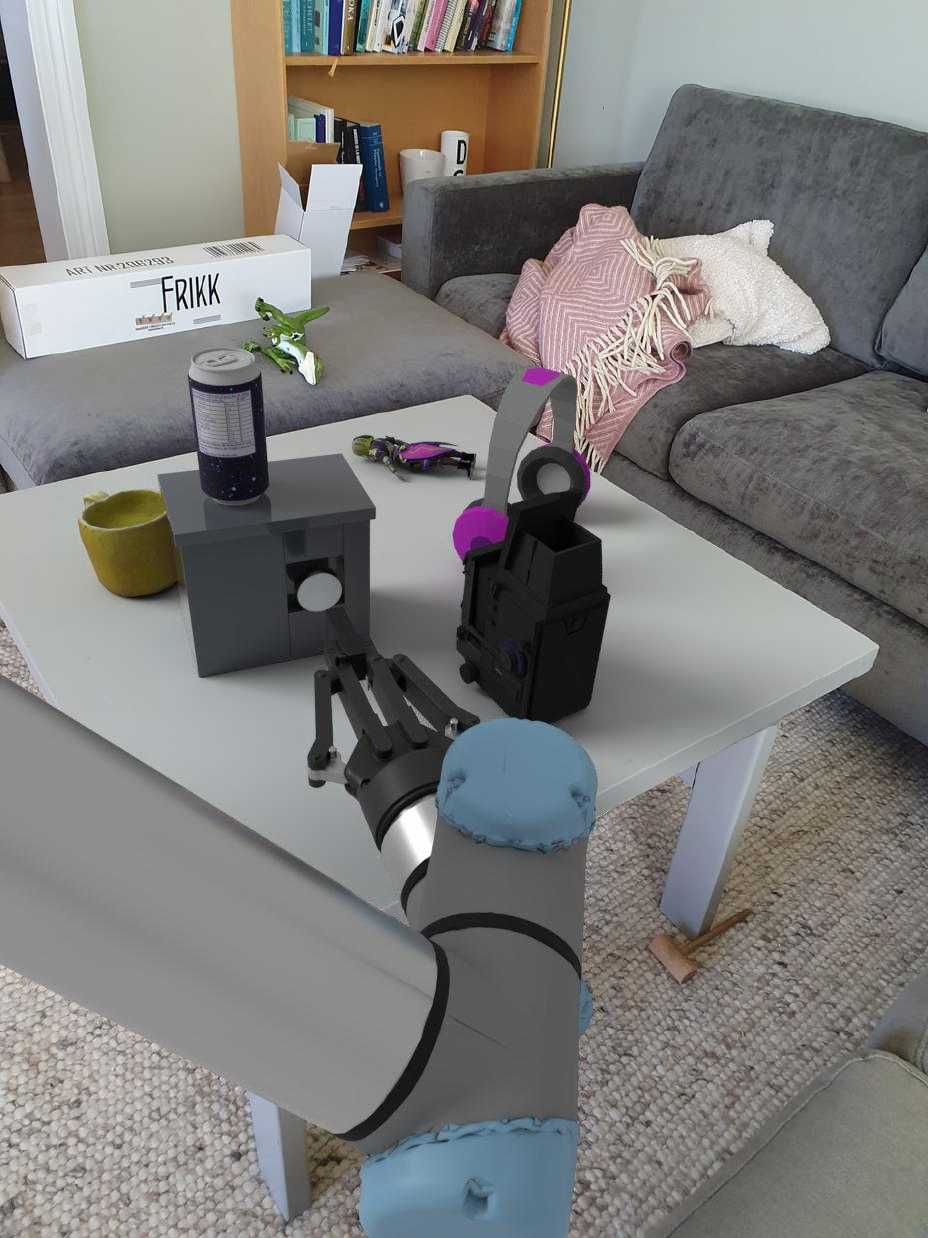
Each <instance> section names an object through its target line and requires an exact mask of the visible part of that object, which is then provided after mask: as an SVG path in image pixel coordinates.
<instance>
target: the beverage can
mask: <svg viewBox="0 0 928 1238" xmlns="http://www.w3.org/2000/svg"><path fill="white" fill-rule="evenodd" d="M190 363H191V365H190V368H189V370H188V372H187V381H188V389H189V390H188V392H189V398H190V399H189V400H190V406H191V415H192V423H193V431H194V438H195V447H196V454H197V455H196V456H197V457H196V458H197V465H198V470H199V474H200V482H201V488H202V490H203V492H204V493H205V494H207V495H208V496H210V497H212V499H213V500H214V501H216V502H218V503H220V504H223V505H230V506H239V505H245V504H249V503H252V502H254V501H256V500H257V499H258V498H259V497H260V496H261V494H262V493H264V492H265V491H266V490H267V488H268V487H269V473H268V462H269V460H268V446H267V445H268V444H267V431H266V420H265V419H266V418H265V404H264V392H263V391H264V389H263V378H262V371H261V369H260V367H259V366H258V364H257V363H256V356H255V354H253V353H252V352H250V351H248V350H246V349H243V348H237V347H228V346H227V347H226V346H225V347H220V346H219V347H211V348H205V349H202V350H200V351H197V352H196V353H194V354H193V355H191V358H190Z"/></svg>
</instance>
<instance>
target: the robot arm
mask: <svg viewBox="0 0 928 1238" xmlns="http://www.w3.org/2000/svg"><path fill="white" fill-rule="evenodd" d="M325 622H326V637H327V639H328V641H326V642H325V643H324V654H323V658H324V660H323V661H324V663H325V665H326V667H327V669H328V670H327V669H323V668H321V669H318V670H316V671H315V672H314V674H313V686H314V687H313V690H314V722H315V723H314V724H315V738H314V740H313V743H312V745H311V747H310V748H309V751H308V753H307V756H306V761H307V763H306V764H307V780H308V781H307V783H308V785H309V786H310V787H311V788H314V789H320V788H322V787H324V786H325V785H326V783H327V782H330V783H333V784H334V783H335V784H339V785H340V784H341V785H343V786H344V790H345V791H346V793H347V794H348V795H350V796H351V797H353V798H354V799H355V800H356V802H357V803H358V804H359V806H360V809H361V812H362V814H363V817H364V819H365V821H366V823H367V826H368V829H369V831H370V834H371V836H372V839H373V841H374V843H375V845H376V848H377V850H378V851H379V852H380V855H381V856H380V857H381V860H382V862H383V864H384V868H385V869H386V873H387V874H388V877H389V879H390V882H391V885H392V887H393V890H394V892H395V894H396V895H395V896H396V897H397V900H398V902H399V904H400V907H401V909H402V910H403V912H404V915H405V917H406V920H407V922H408V925H407V924H406V923H404V922H403V921H401V920H399V919H398V918H396V917H395V916H393V915H391V914H390V913H389V912H387V911H385V910H383V909H382V908H380V907H379V906H376V905H375V904H373V903H372V902H371V901H369V900H368V899H365V898H364V897H363V896H360V895H359V894H357V893H356V892H354V891H353V890H351V889H349V888H348V887H346V886H345V885H343V884H341V883H340V882H339V881H336V880H335V879H333V878H332V877H330V876H329V875H326V874H325V873H323V872H322V871H320V870H319V869H317V868H315V867H314V866H312V865H311V864H309V863H307V862H306V861H304V860H302V859H301V858H299V857H298V856H296V855H295V854H293V853H292V852H289V851H288V850H286V849H285V848H284V847H282V846H280V845H278V844H277V843H276V842H273V841H272V840H270V839H268V838H267V837H265V835H264V836H263V835H262V834H261V833H259V832H257V831H255V830H254V829H253V828H251V827H249V826H248V825H246V824H244V823H243V822H241V821H239V820H238V819H236V818H235V817H233V816H231V815H230V814H228V813H226V812H224V810H222V809H220V808H219V807H217V806H216V805H213V804H212V803H210V802H209V801H208V800H205V799H204V798H202V797H201V796H199V795H198V794H196V793H194V792H193V791H191V790H189V789H188V788H187V787H185V786H183V785H182V784H180V783H178V782H176V781H175V780H173V779H172V778H170V777H168V776H167V775H165V774H164V773H162V772H160V771H159V770H157V769H156V768H154V767H153V766H151V765H149V764H147V763H146V762H144V761H142V760H141V759H139V758H137V757H136V756H134V755H133V754H131V753H130V752H128V751H126V750H125V749H123V748H121V747H120V746H119V745H116V743H113V742H112V741H110V740H109V739H107V738H105V737H104V736H103V735H101V734H99V733H97V732H95V731H94V730H93V729H91V728H89V727H88V726H86V725H84V724H83V723H81V722H79V721H78V720H77V719H74V717H71V716H70V715H68V714H67V713H65V712H63V711H62V710H60V709H58V708H57V707H56V706H54V705H52V704H51V703H49V702H47V701H45V699H42V698H41V697H39V696H37V695H36V694H34V693H33V692H31V691H29V690H28V689H26V688H24V687H23V686H21V685H20V684H18V683H17V682H15V681H13V680H12V679H11V678H8V677H7V676H5V675H4V674H2V673H0V966H3V967H5V968H6V969H8V970H10V971H12V972H14V973H16V974H18V975H20V976H22V977H24V978H26V979H27V980H30V981H31V982H34V983H36V984H38V985H40V986H42V987H43V988H45V989H47V990H48V991H49V990H50V991H51V992H53V993H55V994H57V995H59V996H61V997H63V998H65V999H67V1000H69V1001H71V1002H73V1003H74V1004H76V1005H79V1006H81V1007H83V1008H84V1009H86V1010H89V1011H91V1012H92V1013H95V1014H96V1015H99V1016H100V1017H102V1018H104V1019H106V1020H108V1021H111V1022H112V1023H114V1024H116V1025H118V1026H120V1027H123V1028H124V1029H126V1030H128V1031H130V1032H132V1033H134V1034H136V1035H138V1036H139V1037H141V1038H143V1039H146V1040H148V1041H150V1042H151V1043H154V1044H155V1045H158V1046H160V1047H161V1048H163V1049H165V1050H167V1051H169V1052H170V1053H173V1054H175V1055H176V1056H179V1057H181V1058H183V1059H184V1060H187V1061H188V1062H191V1063H192V1064H195V1065H197V1066H198V1067H200V1068H203V1069H205V1070H206V1071H209V1072H210V1073H212V1074H214V1075H217V1076H218V1077H220V1078H222V1079H224V1080H226V1081H228V1082H230V1083H231V1084H233V1085H235V1086H237V1087H240V1088H242V1089H243V1090H246V1091H247V1092H249V1093H251V1094H253V1095H256V1096H258V1097H259V1098H262V1099H263V1100H265V1101H267V1102H269V1103H271V1104H273V1105H275V1106H277V1107H279V1108H281V1109H283V1110H285V1111H287V1112H288V1113H290V1114H292V1115H295V1116H297V1117H299V1118H300V1119H303V1120H305V1121H306V1122H309V1123H311V1124H313V1125H314V1126H317V1127H318V1128H320V1129H322V1130H323V1131H325V1132H326V1133H328V1134H329V1135H331V1136H333V1137H335V1138H337V1139H340V1140H341V1141H343V1142H344V1143H346V1144H347V1145H349V1146H350V1147H352V1148H353V1149H355V1150H357V1151H359V1152H360V1153H361V1154H364V1156H365V1159H364V1161H363V1162H362V1164H361V1167H360V1170H359V1173H358V1177H359V1179H360V1181H361V1191H360V1196H359V1197H360V1198H359V1203H358V1216H359V1221H360V1225H361V1228H362V1229H363V1231H364V1233H365V1235H366V1237H367V1238H568V1236H569V1232H570V1225H571V1217H572V1216H571V1215H572V1208H573V1207H572V1205H573V1198H574V1197H573V1196H574V1187H575V1177H576V1169H577V1159H578V1147H579V1144H580V1141H581V1126H580V1124H579V1123H578V1114H579V1063H580V1062H579V1059H580V1039H581V1038H582V1037H583V1035H584V1034H585V1033H586V1032H587V1029H588V1028H589V1026H590V1023H591V1021H592V1018H593V1014H594V1002H593V998H592V995H591V993H590V991H589V989H588V986H587V984H586V982H585V980H584V978H583V975H582V973H583V951H584V950H583V947H584V922H585V897H586V895H585V894H586V893H585V892H586V868H587V867H586V864H587V853H588V845H589V839H590V834H591V832H593V831H594V829H595V827H596V822H597V821H596V820H597V819H596V811H597V809H596V798H597V792H598V786H599V785H598V784H599V783H598V782H599V781H598V775H597V770H596V768H595V767H596V766H595V764H594V762H593V760H592V758H591V756H590V754H589V753H588V752H587V750H586V749H585V748H584V747H583V745H582V744H581V743H580V742H578V741H577V740H576V739H575V738H574V737H573V736H571V735H570V734H568V733H567V732H565V731H564V730H562V729H560V728H558V727H557V726H555V725H553V724H551V723H550V724H547V723H544V722H540V721H530V720H527V719H522V720H520V719H517V718H510V717H500V718H494V719H493V718H492V719H489V720H486V721H483V722H481V719H480V717H479V716H477V715H475V714H474V713H472V712H469V711H468V710H466V709H464V708H462V707H460V706H458V705H457V704H456V702H454V701H453V700H452V699H451V698H450V697H449V696H448V695H447V694H446V693H445V692H444V691H443V690H442V689H441V688H440V687H439V686H438V685H437V684H436V683H435V682H434V681H433V680H432V679H430V678H429V676H428V675H427V674H426V673H424V671H423V670H421V668H419V667H418V665H417V664H416V663H415V662H413V661H412V660H411V658H409V656H407V655H406V654H404V653H397V654H394V655H393V656H392V658H387V657H384V656H383V655H382V654H380V653H379V651H378V649H377V647H376V646H375V644H374V641H373V640H372V638H371V635H370V636H368V635H367V634H362V635H357V634H356V632H355V630H354V628H353V626H352V624H351V622H350V620H349V618H348V616H347V614H346V612H345V610H344V608H343V606H341V607H335V608H329V609H325ZM366 680H367V691H368V692H369V691H371V693H372V695H373V698H374V699H375V702H376V703H377V705H378V707H379V710H380V712H381V714H382V716H383V718H384V720H385V722H386V725H383V723H382V721H381V718H380V717H379V715H378V713H377V712H376V713H375V711H374V709H373V707H372V705H371V703H370V702H369V698H368V697H367V695H366V692H365V691H364V688H363V686H362V684H361V682H360V681H366ZM336 694H337V696H338V699H339V701H340V703H341V705H342V708H343V710H344V712H345V715H346V717H347V719H348V721H349V724H350V726H351V728H352V730H353V732H354V735H355V737H356V739H357V743H355V746H354V748H353V751H352V752H351V755H350V757H349V758H348V761H347V762H346V763H345V762H343V761H342V754H341V752H339V751H338V748H337V747H336V746H334V723H333V704H332V703H333V702H332V696H334V695H336ZM406 700H407V701H408V703H410V704H411V705H409V704H408V703H407V701H406ZM413 708H414V709H415V710H416V711H417V712H418V713H419V714H420V715H421V716H422V717H423V718H424V719H425V720H426V722H428V723H429V724H430V725H431V726H432V727H433V728H431V727H429V726H427V725H425V724H422V723H421V722H420V720H419V717H418V716H417V714H416V712H415V710H414V709H413Z"/></svg>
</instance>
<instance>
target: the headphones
mask: <svg viewBox="0 0 928 1238" xmlns="http://www.w3.org/2000/svg"><path fill="white" fill-rule="evenodd" d="M578 391H579V387H578V382H577V378H576V377H575V376H573V375H571V374H567V373H565V372H560V371H557V370H554V369H549V368H545V367H541V366H537V365H533V364H530V365H527V366H524V367H521V368H520V369H519V370H518V371H517V372H516V373H515V375H513V376H512V377H511V379H510V380H509V382H508V384H507V387H506V388H505V390H504V392H503V394H502V397H501V400H500V402H499V405H498V407H497V411H496V414H495V417H494V421H493V425H492V430H491V435H490V440H489V444H488V453H487V462H486V470H485V471H486V472H485V483H484V493H483V495H484V496H483V497H481V498H479V499H475V500H472V501H471V502H470V503H469V504H468V505H467V506H466V507H465V508H464V509H463V511H462V513H461V514H459V516H458V517H457V518H456V520H455V522H454V526H453V530H452V541H453V546H454V547H453V548H454V550H455V551H456V553H457V555H458V557H459V559H460V561H461V562H462V561H463V558H464V556H465V553H466V551H470V550H473V549H476V548H480V547H483V546H486V545H490V544H493V543H496V542H500V541H503V540H504V538H505V533H506V529H507V525H508V520H509V516H510V511H511V507H512V503H511V502H509V497H510V492H511V486H512V481H513V477H514V472H515V469H516V464H517V460H518V457H519V453H520V451H521V449H522V447H523V445H524V443H525V441H526V439H527V437H528V435H529V433H530V430H531V429H532V427H533V425H534V424H535V422H536V421H537V419H538V417H539V415H540V413H541V411H542V410H543V408H544V407H545V405H546V404H547V403H548V401H549V400H550V404H551V408H552V415H553V416H552V417H553V424H552V425H553V426H552V439H551V441H550V442H548V443H546V444H543V445H540V446H538V447H536V448H534V449H531V450H530V451H529V452H528V453H527V454H526V455H525V456H524V457H523V458H522V460H521V461H520V463H519V466H518V469H517V472H516V485H517V486H516V487H517V489H518V492H519V494H520V497H521V499H522V501H524V500H527V499H531V498H535V497H538V496H542V495H545V494H549V493H552V492H563V491H567V490H571V489H572V488H573V487H574V488H576V489H579V490H581V491H583V493H582V496H581V499H580V502H579V506H578V508H580V507H581V506H582V504H583V503H584V501H586V499H587V496H588V494H589V492H590V489H591V484H592V483H591V480H592V479H591V470H590V468H589V466H588V463H587V461H586V459H585V458H584V457H583V456H582V455H581V454H580V452H578V450H577V449H575V448H574V439H575V430H576V424H577V405H578Z"/></svg>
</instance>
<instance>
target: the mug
mask: <svg viewBox="0 0 928 1238" xmlns="http://www.w3.org/2000/svg"><path fill="white" fill-rule="evenodd" d="M83 504H84V508H83V509H82V510H81V511H80V512H79V514H78V517H77V518H78V519H77V524H78V530H79V535H80V538H81V542H82V544H83V546H84V548H85V551H86V553H87V555H88V558H89V561H90V563H91V565H92V567H93V571H94V573H95V575H96V578H97V580H98V582H99V583H100V584H101V585H102V587H104V589H106V590H107V591H109V592H110V593H112V594H115V595H116V596H120V597H124V598H136V597H141V596H149V595H150V596H151V595H155V594H157V593H160V592H162V591H163V590H167V589H169V588H170V587H172V586H173V585H174V584H175V583H176V582H178V579H177V572H176V565H175V559H174V552H173V545H172V538H171V531H170V525H169V521H168V517H167V514H166V510H165V506H164V503H163V499H162V495H161V492H160V490H154V489H150V488H135V489H134V488H133V489H126V490H121V491H118V492H115V493H112V494H110V495H109V494H108V493H107V492H105V491H103V490H95V491H93V492H91V493H89V494H86V495H85V496H84V497H83Z"/></svg>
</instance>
